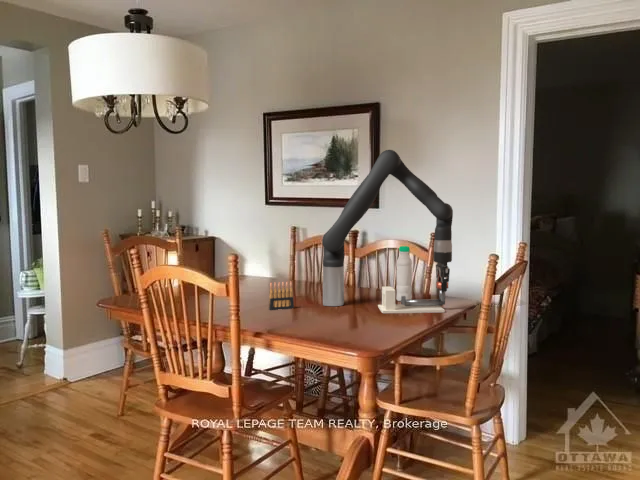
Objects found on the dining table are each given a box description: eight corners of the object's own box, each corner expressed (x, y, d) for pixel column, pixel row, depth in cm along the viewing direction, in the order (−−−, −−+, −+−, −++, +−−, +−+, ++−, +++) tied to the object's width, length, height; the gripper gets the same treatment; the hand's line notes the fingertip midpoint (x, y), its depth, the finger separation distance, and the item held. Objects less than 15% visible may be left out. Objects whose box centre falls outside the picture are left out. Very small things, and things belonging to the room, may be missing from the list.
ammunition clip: (292, 307, 248) (292, 280, 247) (293, 308, 246) (293, 281, 245) (268, 309, 245) (268, 281, 244) (269, 310, 243) (269, 282, 242)
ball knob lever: (402, 307, 240) (402, 283, 239) (400, 305, 245) (400, 281, 244) (449, 306, 241) (449, 283, 240) (446, 304, 246) (446, 281, 245)
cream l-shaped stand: (382, 313, 236) (382, 291, 235) (378, 306, 249) (378, 286, 248) (444, 312, 237) (445, 290, 236) (437, 306, 250) (437, 285, 249)
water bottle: (411, 302, 259) (411, 247, 257) (395, 301, 260) (396, 247, 258) (412, 299, 266) (412, 245, 263) (396, 298, 267) (397, 245, 265)
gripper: (430, 248, 248) (429, 287, 250) (438, 252, 234) (437, 293, 236) (447, 248, 249) (446, 287, 250) (456, 252, 234) (455, 293, 236)
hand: (442, 290), depth 243 cm, fingers closed on ball knob lever, 5 cm apart
